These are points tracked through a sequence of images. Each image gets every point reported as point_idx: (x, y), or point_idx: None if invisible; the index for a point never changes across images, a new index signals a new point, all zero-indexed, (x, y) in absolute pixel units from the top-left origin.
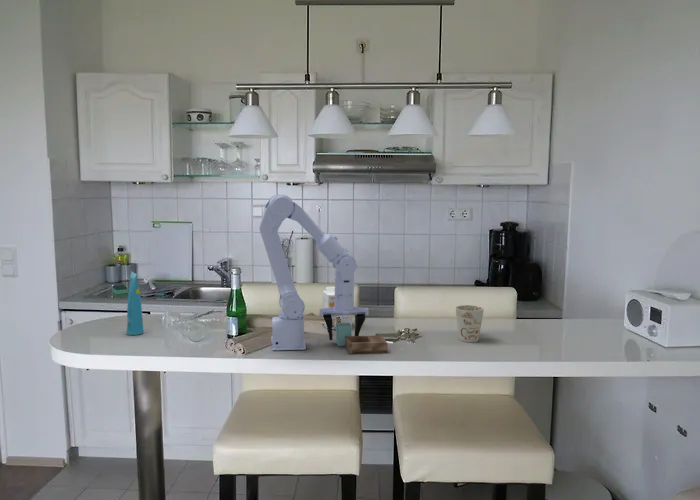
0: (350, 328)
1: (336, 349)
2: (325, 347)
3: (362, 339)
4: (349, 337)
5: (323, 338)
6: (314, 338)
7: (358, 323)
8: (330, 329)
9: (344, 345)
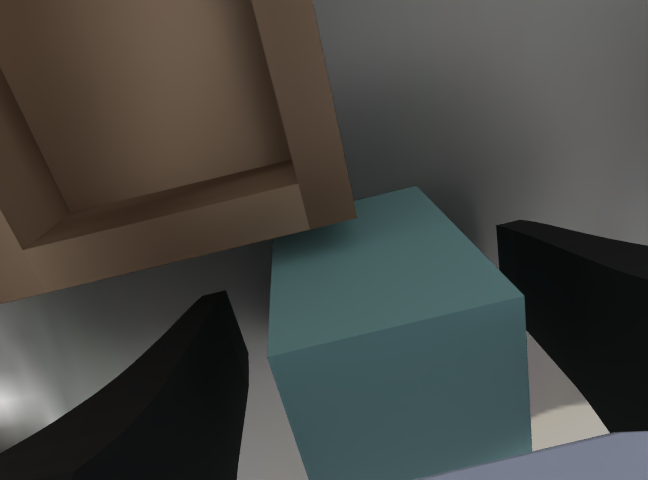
0: (285, 323)
1: (428, 44)
2: (549, 109)
3: (111, 217)
4: (287, 185)
5: (545, 389)
6: None
7: (119, 417)
8: (615, 253)
9: None
